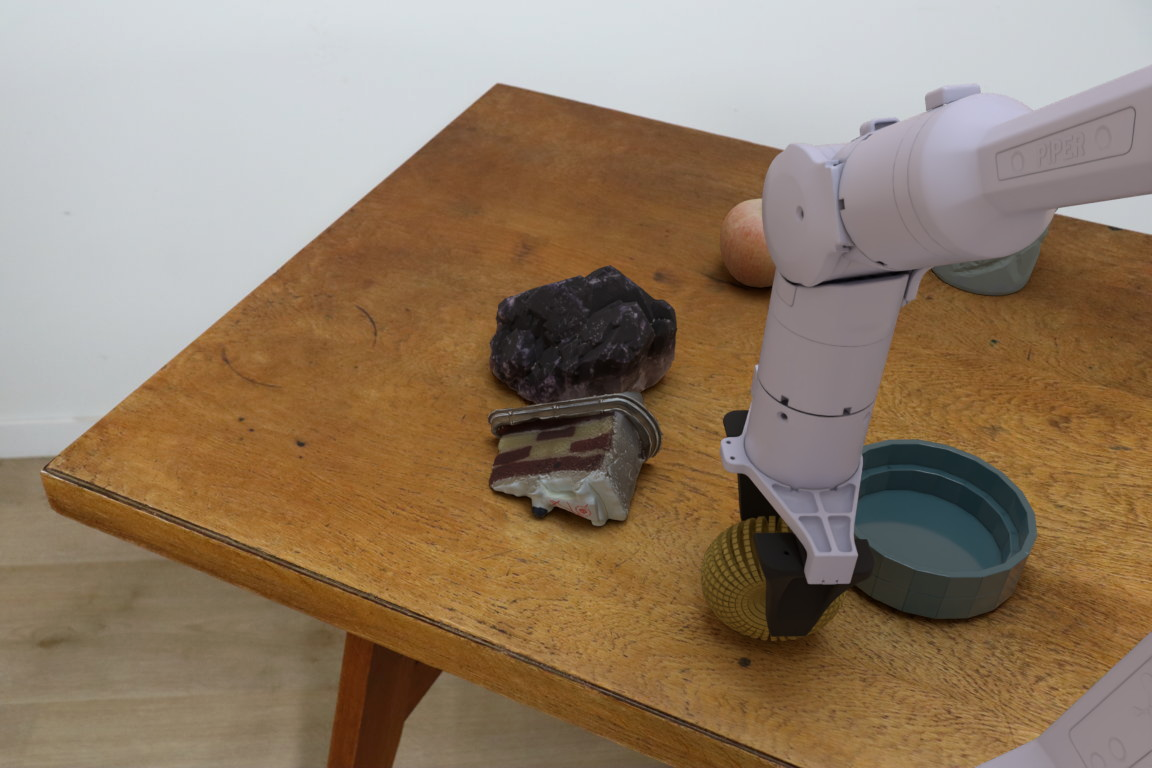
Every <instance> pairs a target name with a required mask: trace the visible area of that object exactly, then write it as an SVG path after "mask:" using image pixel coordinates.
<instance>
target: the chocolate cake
mask: <svg viewBox="0 0 1152 768" xmlns="http://www.w3.org/2000/svg"><path fill="white" fill-rule="evenodd" d="M643 397H644V395H643V393H641V392H631V393H630V392H629V391H628V390H627V391H625V392H621V393H616V394H615V393H614V394H610V395H607V394H605V395H602V396H600V395H599V396H596V395H594V396H588V397H581V398H575V399H569V400H564V401H557V402H553V403H545V404H541V403H540V404H536V403H534V404H529V405H527V406H523V407H516V408H514V406H508V407H505V408H494V410H493V411H491V412H489V414H488V416H486V419H487V423H488V424H489V425H490V431H491V433H492V435H493V436H494V437H495V438H496V439H498V440H499V442H498V444H497V449H498V453H497V455H496V456H495V457H494V459H493V463H492V466H491V469H492V470H491V473H490V476H489V479H488V485H489V487H490V488H492V489H493V491H496V492H503V493H504V494H507V495H513V496H515V497H528V498H529V499H531V507H532V508H531V513H532V515H534V516H535V517H536V518H543V517H545V516H546V515H547V514H549V513H550V512H551V511H552V510H553V509H554V508H555V507H557V508H560V509H563V510H565V511H567V512H571V513H572V514H575V515H576V516H580V517H582V518H584V519H586V520H590V521H591V524H592V525H593V526H594V527H602V526H604V525H606V523H607V521H608V520H610V519H611V520H613V521H614V520H615V521H621V522H623V521H626V520H627V518H628V516H629V513H630V506H631V501H632V498H633V497H634V493H635V489H636V486H637V480H638V477H639V475H640V472H641V469H642V466H643V464H645V463H646V462H648V460H649V459H653V458H655V457H656V456H657V455H658V454H659V453H660V452H661V451H662V446H663V439H664V438H663V436H664V433H663V431H662V430H661V427H660V423H659V420H658V419H657V418H656V417H655V416H654V414H653V413H652V411H649V410H648V408H647V407H646V406H645V404H644V403H645V399H644V398H643Z"/></svg>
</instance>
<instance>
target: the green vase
mask: <svg viewBox="0 0 1152 768" xmlns="http://www.w3.org/2000/svg"><path fill="white" fill-rule="evenodd" d="M1058 210H1059V208H1057V209H1056V211H1055V213H1057V211H1058ZM1053 219H1054V217H1053V218H1052V220H1051V222H1050V223H1049V225H1048V227H1047V228H1046V229H1045V231H1044V232H1043V233H1042V234H1041V235H1040V236H1039V238H1038V239H1037V240H1035V241H1034V242H1033V243H1032V244H1031V245H1029V246H1028V247H1026V248H1025V249H1023V250H1021V251H1019V252H1017V253H1014V254H1012V255H1009V256H1005V257H999V258H992V259H985V260H978V261H970V262H963V263H956V264H948V265H941V266H934V267H933V268H931V269H930V270H931V271H932V272H933V273H934V274H935V275H936V276H937V277H938V278H939V279H940V280H941V281H943V282H944V283H946V284H948V285H950V286H951V287H954V288H957V289H959V290H962V291H965V292H968V293H973V294H977V295H984V296H1005V295H1010V294H1014V293H1017V292H1018V291H1020V290H1022V289H1023V288H1024V287H1025V286H1026V285H1027V283H1028V282H1029V280H1030V278H1031V275H1032V273H1033V271H1034V269H1035V266H1036V264H1037V261H1038V259H1039V256H1040V254H1041V246H1042V243H1043V242H1044V240H1045V238H1046V237H1047V235H1048V233H1049V228H1050V226H1051V224H1052V222H1053Z"/></svg>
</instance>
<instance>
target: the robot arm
mask: <svg viewBox="0 0 1152 768" xmlns="http://www.w3.org/2000/svg"><path fill="white" fill-rule="evenodd" d="M924 102H925V103H924V105H925V111H924V112H922V113H918V114H916V115H914V116H910V117H908V118H905V119H902V120H900V119H899V118H898V117H896V116H890V117H878V118H873V119H871V120H867V121H865V122H863V123H862V124H861V125H860V126H859V136H858V137H856V138H854V139H852V140H851V141H848V142H839V143H838V142H837V143H830V144H827V143H826V144H819V145H818V144H817V145H813V144H809V143H805V142H791V143H789V144H788V145H787V146H786V147H785V149H784V150H782V151H781V152H779V153H778V154H777V155H776V156H775V157H774V158H773V160H772V161H771V163H770V165H769V167H768V169H767V172H766V174H765V178H764V183H763V188H762V195H761V198H762V222H763V230H764V235H765V240H766V244H767V247H768V250H769V253H770V256H771V258H772V260H773V262H774V264H775V266H776V271H775V276H774V282H773V286H771V287H772V288H771V293H770V299H769V305H768V309H767V315H766V321H765V328H764V332H763V337H762V344H761V349H760V354H759V359H758V364H755V365H754V369H753V373H752V374H753V376H752V381H751V385H750V395H751V402H750V406H749V408H748V409H736V410H735V409H734V410H731V411H729V412H727V413H725V414H724V416H723V418H722V424H723V428H724V432H725V436H726V437H724V438H723V439H721V441H720V446H719V456H720V460H721V464H722V467H723V469H724V471H726V472H727V473H731V474H737V475H736V477H737V491H738V495H737V496H738V509H739V517H740V522H741V521H746V520H747V519H750V518H751V519H752V518H755V519H757V518H758V517H761V516H764V517H765V518H766V519H767V522H768V524H769V516H775V519H776V528H777V524H778V521H779V518H780V517H782V519H783V520H784V521H785V522H786V524H787V525H788V526H789V527H790V530H792V531H793V532H794V534H793V533H792V532H790V533H754V536H753V541H754V545H755V548H756V552H757V556H758V560H759V563H760V566H761V569H762V571H763V574H764V576H765V578H766V604H765V614H766V621H767V625H768V629H769V636H770V637H771V636H772V637H777V638H779V637H791V636H805V637H808V636H809V635H810V634H809V632H810V631H811V630H812V628H813V627H814V626H815V624H816V623H817V622H818V620H819V619H820V617H821V616H822V615H823V613H824V612H825V611H826V609H827V608H828V607H829V606H830V604H831V603H832V602H833V601H834V600H835V599H836V598H837V597H839V596H840V595H841V594H842V593H844V592H845V591H848V590H850V589H851V588H853V587H855V586H856V584H858V583H860V582H862V581H864V580H866V579H868V578H869V577H870V576H871V574H872V571H873V568H874V564H875V560H874V556H873V554H872V551H871V548H870V545H869V543H868V540H867V539H854V523H855V516H856V509H857V502H858V495H859V488H860V481H861V473H862V466H863V457H862V450H863V446H865V442H866V438H867V435H868V431H869V426H870V425H871V419H872V416H873V411H874V408H875V404H876V400H877V396H878V393H879V389H880V387H881V382H882V378H883V374H884V371H885V367H886V363H887V359H888V356H889V351H890V349H891V344H892V341H893V337H894V333H895V330H896V325H897V323H898V318H899V315H900V311H901V308H904V307H906V305H907V304H908V305H910V303H911V301H915V300H916V298H917V295H918V292H919V288H920V285H921V281H922V279H923V277H924V276H925V274H926V273H927V272H928V271H930V270H932V269H931V268H933V267H934V266H941V265H948V264H956V263H963V262H970V261H978V260H985V259H992V258H999V257H1005V256H1009V255H1012V254H1014V253H1017V252H1019V251H1021V250H1023V249H1025V248H1026V247H1028V246H1029V245H1031V244H1032V243H1033V242H1034V241H1035V240H1037V239H1038V238H1039V236H1040V235H1041V234H1042V233H1043V232H1044V231H1045V229H1046V228H1047V227H1048V225H1049V223H1050V222H1051V220H1052V221H1053V219H1054V216H1055V213H1056V212H1057V211H1056V209H1057V208H1058V209H1062V208H1069V207H1074V206H1081V205H1082V206H1083V205H1089V204H1095V203H1102V202H1108V201H1115V200H1121V199H1128V198H1135V197H1141V196H1147V195H1152V64H1149V65H1147V66H1143V67H1142V68H1139V69H1136V70H1134V71H1131V72H1129V73H1126V74H1124V75H1120V76H1118V77H1116V78H1113V79H1111V80H1109V81H1106V82H1103V83H1099V84H1097V85H1095V86H1093V87H1090V88H1088V89H1085V90H1083V91H1080V92H1078V93H1075V94H1073V95H1070V96H1068V97H1065V98H1063V99H1060V100H1057V101H1055V102H1052V103H1050V104H1047V105H1044V106H1042V107H1040V108H1039V107H1038V108H1037V109H1035V110H1033V109H1032V108H1031V107H1030V106H1028V105H1027V104H1025V103H1024V102H1022V101H1020V100H1018V99H1016V98H1014V97H1011V96H1008V95H1005V94H1002V93H996V92H995V93H994V92H982V89H981V86H980V84H978V83H963V84H951V85H943V86H941V87H938V88H936V89H933V90H931V91H928V92H927V93H926V94H925V96H924ZM1055 211H1056V212H1055ZM1052 218H1053V219H1052ZM808 634H809V635H808ZM807 635H808V636H807ZM973 768H1152V630H1151V631H1150V632H1148V633H1147V634H1146V635H1145V636H1144V637H1143V638H1142V639H1141V640H1140V641H1139V642H1138V643H1137V644H1136V645H1135V646H1133V648H1131V650H1130V651H1128V652H1127V653H1126V654H1125V655H1123V657H1122V658H1121V659H1119V661H1118V662H1117V663H1116V664H1114V665H1113V666H1112V667H1111V668H1110V669H1109V670H1108V671H1107V672H1106V673H1105V674H1104V675H1102V677H1100V678H1099V679H1098V680H1097V681H1096V682H1095V683H1094V684H1093V685H1092V686H1091V687H1090V688H1088V689H1087V690H1086V691H1085V692H1084V693H1083V694H1082V695H1081V696H1080V697H1079V698H1078V699H1077V700H1075V702H1074V703H1073V704H1071V706H1070V707H1068V708H1067V709H1066V710H1065V711H1064V712H1063V713H1062V714H1061V715H1060V716H1059V717H1058V718H1057V719H1055V720H1054V721H1053V722H1052V723H1051V724H1050V725H1049V726H1048V727H1047V728H1046V729H1045V730H1044V731H1043V732H1042V733H1040V734H1039V736H1037V737H1035V738H1033V739H1031V740H1030V741H1028V742H1026V743H1024V744H1021V745H1019V746H1017V747H1015V748H1012V749H1011V750H1008V751H1006V752H1004V753H1002V754H1000V755H998V756H995V757H993V758H991V759H990V760H987V761H985V762H982V763H980V764H978V765H976V766H974V767H973Z"/></svg>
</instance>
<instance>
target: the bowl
mask: <svg viewBox="0 0 1152 768" xmlns="http://www.w3.org/2000/svg"><path fill="white" fill-rule="evenodd" d="M862 457H863V466H862V473H861V481H860V488H859V495H858V502H857V509H856V516H855V523H854V539H867V540H868V543H869V545H870V548H871V551H872V554H873V556H874V560H875V564H874V568H873V571H872V574H871V576H870V577H869V578H868V579H866V580H864V581H862V582H860V583H858V584H856V585H855V586H856V587H857V588H858V589H859V590H860V591H862V592H863V593H864V594H866V595H867V596H868V597H870V598H871V599H874V600H876V601H878V602H881V603H883V604H884V605H887V606H889V607H891V608H893V609H896V610H897V611H900V612H903V613H908V614H912V615H916V616H921V617H925V618H930V619H936V620H947V619H951V620H953V619H955V620H956V619H969V618H973V617H976V616H980V615H982V614H985V613H989V612H992V611H994V610H995V609H997V608H998V607H999V606H1001V605H1002V604H1003V603H1004V602H1006V601H1007V600H1008V599H1010V597H1012V596H1013V595H1014V593H1015V590H1016V588H1017V585H1018V583H1019V581H1020V578H1021V576H1022V574H1023V571H1024V569H1025V567H1026V564H1027V562H1028V560H1029V557H1030V555H1031V552H1032V549H1033V548H1034V545H1035V542H1036V540H1037V537H1038V529H1037V527H1038V526H1037V518H1036V512H1035V511H1034V509H1033V507H1032V506H1031V504H1030V502H1029V500H1028V498H1027V495H1025V493H1024V492H1023V490H1022V489H1021V488H1019V486H1018V485H1017V484H1016V483H1014V481H1013V480H1012V479H1010V478H1009V476H1007V474H1005V473H1004V472H1003V471H1001V470H1000V469H999V468H997V467H995V466H994V465H992V464H990V463H989V462H987V461H985V460H984V459H982V458H981V457H979V456H977V455H975V454H972V453H970V452H967V451H964V450H963V449H959V448H957V447H954V446H951V445H948V444H944V443H939V442H935V441H929V440H925V439H924V440H923V439H916V438H911V439H909V438H903V439H901V438H898V439H897V438H895V439H894V438H893V439H891V438H890V439H884V440H881V441H877V442H873V443H869V444H864V446H863V450H862Z"/></svg>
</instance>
